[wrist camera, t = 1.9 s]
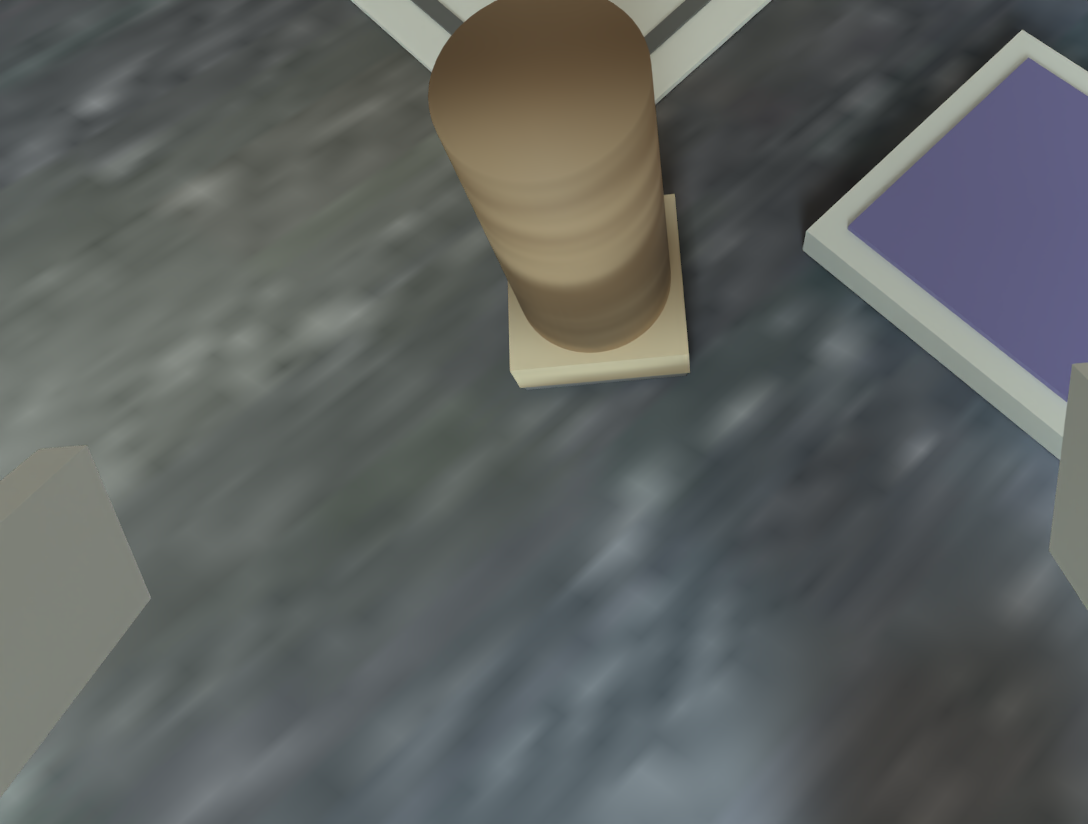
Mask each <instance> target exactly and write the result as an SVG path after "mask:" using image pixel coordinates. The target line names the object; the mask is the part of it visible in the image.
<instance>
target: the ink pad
mask: <svg viewBox="0 0 1088 824" xmlns="http://www.w3.org/2000/svg"><path fill="white" fill-rule="evenodd" d="M803 251H804V252H806V253H807V254H808V255H809V256H810V257H812V258H813V259H814V260H815V261H817V262H818V263H819V264H820V265H821V266H823V267H824V268H825V269H826V270H828V271H829V272H830V273H831V274H832V275H834V276H835V277H836V278H837V279H839V280H840V281H841V282H842V283H844V284H845V285H846V286H847V287H848V288H850V289H851V290H852V291H853V292H855V293H856V294H857V295H858V296H859V297H861V298H862V299H863V300H864V301H866V302H867V303H868V304H869V305H870V306H872V307H873V308H874V309H875V310H877V311H878V312H879V313H880V314H881V315H883V316H884V317H885V318H886V319H888V320H889V321H890V322H891V323H893V324H894V325H895V326H896V327H897V328H899V329H900V330H901V331H902V332H904V333H905V334H906V335H907V336H908V337H910V338H911V339H912V340H913V341H915V342H916V343H917V344H918V345H919V346H921V347H922V348H923V349H924V350H926V351H927V352H928V353H929V354H931V355H932V356H933V357H934V358H935V359H937V360H938V361H939V362H940V363H942V364H943V365H944V366H945V367H946V368H948V369H949V370H950V371H951V372H953V373H954V374H955V375H956V376H957V377H959V378H960V379H961V380H962V381H964V382H965V383H966V384H967V385H968V386H970V387H971V388H972V389H973V390H975V391H976V392H977V393H978V394H980V395H981V396H982V397H983V398H984V399H986V400H987V401H988V402H989V403H991V404H992V405H993V406H994V407H995V408H997V409H998V410H999V411H1000V412H1002V413H1003V414H1004V415H1005V416H1006V417H1008V418H1009V419H1010V420H1011V421H1013V422H1014V423H1015V424H1016V425H1018V426H1019V427H1020V428H1021V429H1022V430H1024V431H1025V432H1026V433H1027V434H1029V435H1030V436H1031V437H1032V438H1033V439H1035V440H1036V441H1037V442H1038V443H1040V444H1041V445H1042V446H1043V447H1044V448H1046V449H1047V450H1048V451H1049V452H1051V453H1052V454H1053V455H1054V456H1055V457H1057V458H1058V459H1059V460H1060V457H1061V449H1062V441H1063V433H1064V425H1065V417H1066V409H1067V401H1068V393H1069V385H1070V377H1071V369H1072V364H1076V363H1088V72H1087V71H1086V70H1084V69H1083V68H1081V67H1080V66H1078V65H1077V64H1075V63H1073V62H1072V61H1070V60H1069V59H1067V58H1066V57H1064V56H1062V55H1061V54H1059V53H1058V52H1056V51H1055V50H1053V49H1052V48H1050V47H1048V46H1047V45H1045V44H1044V43H1042V42H1041V41H1039V40H1038V39H1036V38H1034V37H1033V36H1031V35H1030V34H1028V33H1027V32H1025V31H1023V30H1021V31H1020V32H1019V33H1018V34H1017V35H1016V36H1015V37H1014V38H1013V39H1012V40H1011V41H1010V42H1009V43H1007V44H1006V45H1005V46H1004V47H1003V48H1002V49H1001V50H1000V51H999V52H998V53H997V54H996V55H995V56H993V57H992V58H991V59H990V60H989V61H988V62H987V63H986V64H985V65H984V66H983V67H982V68H981V69H980V70H978V71H977V72H976V73H975V74H974V75H973V76H972V77H971V78H970V79H969V80H968V81H967V82H966V83H964V84H963V85H962V86H961V87H960V88H959V89H958V90H957V91H956V92H955V93H954V94H953V95H952V96H951V97H949V98H948V99H947V100H946V101H945V102H944V103H943V104H942V105H941V106H940V107H939V108H938V109H937V110H935V111H934V112H933V113H932V114H931V115H930V116H929V117H928V118H927V119H926V120H925V121H924V122H923V123H921V124H920V125H919V126H918V127H917V128H916V129H915V130H914V131H913V132H912V133H911V134H910V135H909V136H908V137H906V138H905V139H904V140H903V141H902V142H901V143H900V144H899V145H898V146H897V147H896V148H895V149H894V150H892V151H891V152H890V153H889V154H888V155H887V156H886V157H885V158H884V159H883V160H882V161H881V162H880V163H879V164H877V165H876V166H875V167H874V168H873V169H872V170H871V171H870V172H869V173H868V174H867V175H866V176H865V177H863V178H862V179H861V180H860V181H859V182H858V183H857V184H856V185H855V186H854V187H853V188H852V189H851V190H850V191H848V192H847V193H846V194H845V195H844V196H843V197H842V198H841V199H840V200H839V201H838V202H837V203H836V204H834V205H833V206H832V207H831V208H830V209H829V210H828V211H827V212H826V213H825V214H824V215H823V216H822V217H820V218H819V219H818V220H817V221H816V222H815V223H814V224H813V225H812V226H811V227H810V228H809V229H808V230H807V231H806V235H805V240H804V245H803Z"/></svg>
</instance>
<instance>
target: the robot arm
mask: <svg viewBox="0 0 1088 824" xmlns="http://www.w3.org/2000/svg"><path fill="white" fill-rule="evenodd" d="M1049 551H1050V553H1051V555H1052V556H1053V558H1054V559H1055V561H1056V562H1057V564H1058V565H1059V567H1060V568H1061V570H1062V572H1063V573H1064V575H1065V576H1066V578H1067V579H1068V581H1069V582H1070V584H1071V585H1072V587H1073V589H1074V590H1075V592H1076V593H1077V595H1078V596H1079V598H1080V599H1081V601H1082V602H1083V604H1084V606H1085V607H1086V609H1087V610H1088V363H1076V364H1072V369H1071V377H1070V385H1069V393H1068V401H1067V409H1066V417H1065V425H1064V433H1063V441H1062V449H1061V457H1060V465H1059V473H1058V481H1057V489H1056V498H1055V506H1054V514H1053V522H1052V530H1051V538H1050V546H1049ZM150 599H151V597H150V594H149V592H148V589H147V587H146V585H145V582H144V580H143V578H142V575H141V573H140V570H139V568H138V566H137V563H136V561H135V558H134V556H133V554H132V551H131V549H130V546H129V544H128V542H127V539H126V537H125V535H124V532H123V530H122V527H121V525H120V523H119V520H118V518H117V515H116V513H115V511H114V508H113V506H112V503H111V501H110V499H109V496H108V494H107V492H106V489H105V487H104V484H103V482H102V480H101V477H100V475H99V472H98V470H97V468H96V465H95V463H94V461H93V458H92V456H91V453H90V451H89V449H88V446H87V445H81V446H68V447H56V448H44V449H38V450H37V451H36V452H35V453H34V454H32V455H31V456H30V457H29V458H28V459H26V460H25V461H24V462H23V463H22V464H20V465H19V466H18V467H17V468H16V469H14V470H13V471H12V472H11V473H10V474H8V475H7V476H6V477H5V478H4V479H3V480H1V481H0V798H1V796H2V795H3V794H4V792H5V791H6V790H7V788H8V787H9V786H10V784H11V783H12V782H13V780H14V779H15V778H16V776H17V775H18V774H19V772H20V771H21V770H22V768H23V767H24V766H25V764H26V763H27V762H28V760H29V759H30V758H31V756H32V755H33V754H34V753H35V751H36V750H37V749H38V747H39V746H40V745H41V743H42V742H43V741H44V739H45V738H46V737H47V735H48V734H49V733H50V731H51V730H52V729H53V727H54V726H55V725H56V723H57V722H58V721H59V719H60V718H61V717H62V715H63V714H64V713H65V711H66V710H67V709H68V707H69V706H70V705H71V703H72V702H73V701H74V700H75V698H76V697H77V696H78V694H79V693H80V692H81V690H82V689H83V688H84V686H85V685H86V684H87V682H88V681H89V680H90V678H91V677H92V676H93V674H94V673H95V672H96V670H97V669H98V668H99V666H100V665H101V664H102V662H103V661H104V660H105V658H106V657H107V656H108V654H109V653H110V652H111V650H112V649H113V648H114V647H115V645H116V644H117V643H118V641H119V640H120V639H121V637H122V636H123V635H124V633H125V632H126V631H127V629H128V628H129V627H130V625H131V624H132V623H133V621H134V620H135V619H136V617H137V616H138V615H139V613H140V612H141V611H142V609H143V608H144V607H145V605H146V604H147V603H148V601H149V600H150Z"/></svg>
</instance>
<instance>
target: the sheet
mask: <svg viewBox="0 0 1088 824" xmlns="http://www.w3.org/2000/svg"><path fill="white" fill-rule="evenodd" d="M351 1H352V2H353V3H354V4H355V5H357V6H358V7H359V8H360V9H361V10H362V11H363V12H364V13H365V14H367V15H368V16H369V17H370V18H371V19H372V20H373V21H374V22H376V23H377V24H378V25H379V26H380V27H381V28H382V29H383V30H385V31H386V32H387V33H388V34H389V35H390V36H391V37H392V38H394V39H395V40H396V41H397V42H398V43H399V44H400V45H401V46H403V47H404V48H405V49H406V50H407V51H408V52H409V53H410V54H412V55H413V56H414V57H415V58H416V59H417V60H418V61H419V62H421V63H422V64H423V65H424V66H425V67H426V68H427V69H428V70H430V71H431V72H432V70H433V67H434V65H435V62H436V59H437V57H438V55H439V54H440V52H441V50H442V48H443V46H444V45H445V44H446V42H447V41H448V39H449V38H450V36H451V35H452V34H453V33H454V32H455V31H456V30H457V29H458V27H459V26H460V25H462V24H463V23H464V22H465V21H466V20H467V19H468V18H469V17H471V16H472V15H473V14H475V13H476V12H478V11H479V10H480V9H482V8H484V7H485V6H487V5H489V4H491V3H492V2H494V1H497V0H351ZM608 1H610V2H612V3H614V4H615V5H617V6H618V7H619V8H621V9H622V10H623V11H624V12H625V13H626V14H627V15H628V16H629V17H630V18H631V19H632V20H633V21H634V22H635V24H636V25H637V26H638V28H639V29H640V31H641V33H642V35H643V36H644V38H645V40H646V43H647V46H648V49H649V53H650V59H651V65H652V76H653V87H654V97H655V105H656V104H657V103H658V102H659V101H660V100H661V99H662V98H663V97H664V96H666V95H667V94H668V93H669V92H670V91H671V90H672V89H673V88H674V87H676V86H677V85H678V84H679V83H680V82H681V81H682V80H683V79H684V78H686V77H687V76H688V75H689V74H690V73H691V72H692V71H693V70H695V69H696V68H697V67H698V66H699V65H700V64H701V63H702V62H703V61H705V60H706V59H707V58H708V57H709V56H710V55H711V54H712V53H713V52H715V51H716V50H717V49H718V48H719V47H720V46H721V45H722V44H723V43H725V42H726V41H727V40H728V39H729V38H730V37H731V36H732V35H733V34H735V33H736V32H737V31H738V30H739V29H740V28H741V27H742V26H743V25H745V24H746V23H747V22H748V21H749V20H750V19H751V18H752V17H753V16H755V15H756V14H757V13H758V12H759V11H760V10H761V9H762V8H764V7H765V6H766V5H767V4H768V3H769V2H770V1H771V0H608Z"/></svg>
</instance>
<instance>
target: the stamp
mask: <svg viewBox="0 0 1088 824" xmlns="http://www.w3.org/2000/svg"><path fill="white" fill-rule="evenodd" d="M428 101H429V110H430V115H431V119H432V122H433V125H434V127H435V129H436V132H437V134H438V136H439V138H440V140H441V142H442V144H443V146H444V149H445V151H446V153H447V155H448V157H449V159H450V161H451V163H452V165H453V167H454V169H455V171H456V173H457V176H458V178H459V180H460V182H461V184H462V186H463V188H464V190H465V192H466V194H467V196H468V198H469V201H470V203H471V205H472V207H473V209H474V211H475V213H476V215H477V217H478V219H479V221H480V223H481V225H482V228H483V230H484V232H485V234H486V236H487V238H488V240H489V242H490V244H491V246H492V248H493V250H494V252H495V255H496V257H497V259H498V261H499V263H500V265H501V267H502V269H503V271H504V273H505V275H506V277H507V280H508V309H509V351H510V372H511V373H512V375H513V377H514V378H515V380H516V382H517V383H518V385H519V387H520V388H526V389H527V390H532V389H543V388H554V387H565V386H576V385H587V384H598V383H609V382H621V381H632V380H643V379H654V378H665V377H676V376H687V373H690V364H689V350H688V339H687V327H686V316H685V305H684V293H683V282H682V271H681V260H680V248H679V237H678V226H677V214H676V203H675V194H669V195H664V194H663V183H662V172H661V162H660V151H659V140H658V129H657V119H656V108H655V97H654V87H653V76H652V65H651V59H650V53H649V49H648V46H647V43H646V40H645V38H644V36H643V35H642V33H641V31H640V29H639V28H638V26H637V25H636V24H635V22H634V21H633V20H632V19H631V18H630V17H629V16H628V15H627V14H626V13H625V12H624V11H623V10H622V9H621V8H619V7H618V6H617V5H615V4H614V3H612V2H610V1H608V0H497V1H494V2H492V3H491V4H489V5H487V6H485V7H484V8H482V9H480V10H479V11H478V12H476V13H475V14H473V15H472V16H471V17H469V18H468V19H467V20H466V21H465V22H464V23H463V24H462V25H460V26H459V27H458V29H457V30H456V31H455V32H454V33H453V34H452V35H451V36H450V38H449V39H448V41H447V42H446V44H445V45H444V46H443V48H442V50H441V52H440V54H439V55H438V57H437V59H436V62H435V65H434V67H433V70H432V73H431V78H430V82H429V92H428Z"/></svg>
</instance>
